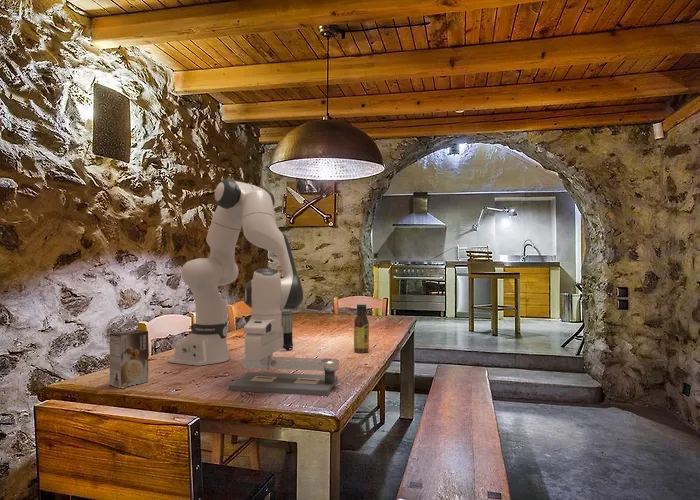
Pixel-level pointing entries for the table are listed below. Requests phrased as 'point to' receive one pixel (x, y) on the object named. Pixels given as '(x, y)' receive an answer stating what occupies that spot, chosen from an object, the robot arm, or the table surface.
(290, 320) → the milk frother
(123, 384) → the coffee box
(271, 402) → the table surface
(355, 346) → the sauce bottle
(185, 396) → the table surface
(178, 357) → the robot arm
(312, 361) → the grey flat bar
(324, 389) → the label board
